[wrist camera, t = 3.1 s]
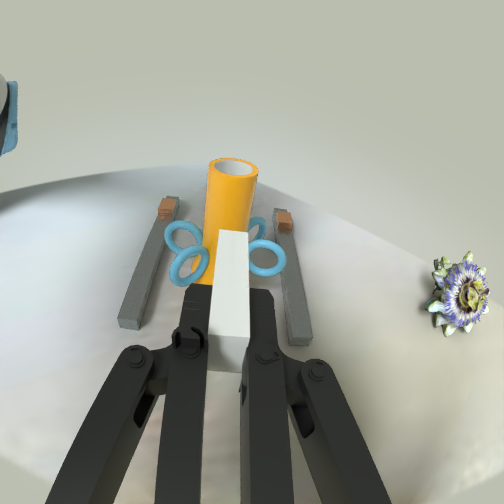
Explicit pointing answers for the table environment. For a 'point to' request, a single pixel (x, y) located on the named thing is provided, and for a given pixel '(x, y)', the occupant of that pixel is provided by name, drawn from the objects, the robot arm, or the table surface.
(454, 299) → the passion flower
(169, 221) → the guide track
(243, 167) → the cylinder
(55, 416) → the table surface
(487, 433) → the table surface
